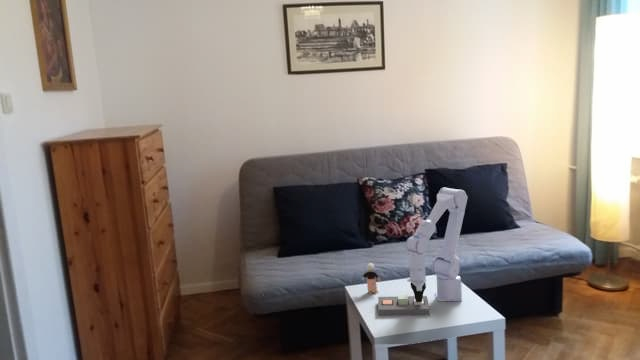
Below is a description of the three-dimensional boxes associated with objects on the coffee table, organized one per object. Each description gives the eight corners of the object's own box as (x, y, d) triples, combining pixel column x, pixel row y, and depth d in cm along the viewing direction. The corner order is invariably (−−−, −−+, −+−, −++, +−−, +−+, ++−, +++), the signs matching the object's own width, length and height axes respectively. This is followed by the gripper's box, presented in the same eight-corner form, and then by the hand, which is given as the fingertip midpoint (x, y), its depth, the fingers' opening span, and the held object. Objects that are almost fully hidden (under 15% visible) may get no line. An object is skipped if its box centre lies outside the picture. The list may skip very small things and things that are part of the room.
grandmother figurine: (380, 290, 215) (379, 261, 213) (380, 293, 211) (379, 264, 209) (362, 290, 216) (361, 262, 214) (362, 294, 212) (360, 265, 210)
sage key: (407, 301, 197) (407, 295, 196) (408, 305, 193) (407, 298, 193) (398, 302, 197) (397, 295, 197) (398, 305, 194) (398, 299, 193)
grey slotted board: (427, 301, 200) (426, 295, 200) (429, 315, 188) (429, 308, 188) (378, 302, 203) (378, 296, 202) (378, 315, 191) (378, 309, 190)
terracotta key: (392, 306, 198) (391, 299, 197) (392, 310, 194) (392, 303, 194) (383, 306, 198) (382, 300, 198) (383, 310, 195) (382, 303, 194)
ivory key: (423, 306, 196) (423, 299, 196) (424, 310, 193) (424, 303, 192) (414, 306, 197) (413, 299, 196) (414, 310, 193) (414, 303, 193)
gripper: (405, 261, 199) (407, 294, 202) (407, 274, 185) (409, 309, 188) (424, 261, 199) (425, 293, 201) (427, 274, 184) (428, 309, 187)
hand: (418, 301), depth 194 cm, fingers closed, pressing on ivory key
